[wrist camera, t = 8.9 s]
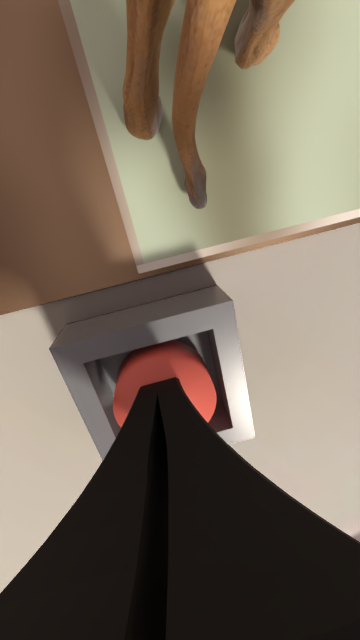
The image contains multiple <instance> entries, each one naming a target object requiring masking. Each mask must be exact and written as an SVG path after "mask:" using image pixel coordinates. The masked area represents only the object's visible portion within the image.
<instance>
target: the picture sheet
mask: <svg viewBox="0 0 360 640" xmlns="http://www.w3.org/2000/svg"><path fill="white" fill-rule="evenodd" d="M186 2H187V0H176V1H175V3H174V5H173V8H172V10H171V13H170V15H169V18H168V21H167V24H166V27H165V30H164V33H163V37H162V42H161V51H160V61H159V97H160V99H161V104H162V119H161V123H160V127H159V129H158V131H157V133H156V135H155V136H154V137H153V138H152V139H150V140H143V139H138V138H136V137H134V136H132V135H131V134H130V133H129V132H128V130H127V128H126V125H125V120H124V111H123V105H124V101H123V84H124V79H125V74H126V55H127V11H126V0H0V315H2V314H6V313H10V312H14V311H18V310H22V309H26V308H30V307H33V306H37V305H41V304H45V303H49V302H53V301H57V300H61V299H64V298H68V297H72V296H76V295H80V294H84V293H88V292H92V291H96V290H99V289H103V288H107V287H111V286H115V285H119V284H123V283H127V282H130V281H134V280H138V279H142V278H146V277H150V276H154V275H158V274H162V273H165V272H169V271H173V270H177V269H181V268H185V267H189V266H193V265H196V264H200V263H204V262H208V261H212V260H216V259H220V258H224V257H228V256H231V255H235V254H239V253H243V252H247V251H251V250H255V249H259V248H263V247H266V246H270V245H274V244H278V243H282V242H286V241H290V240H294V239H297V238H301V237H305V236H309V235H313V234H317V233H321V232H325V231H329V230H332V229H336V228H340V227H344V226H348V225H352V224H356V223H360V0H295V1H294V2H293V4H292V5H291V6H290V7H289V8H288V9H287V11H286V12H285V13H284V15H283V16H282V18H281V20H280V21H279V25H280V36H279V39H278V42H277V44H276V45H275V47H274V49H273V50H272V51H271V53H270V54H269V55H268V56H267V57H266V59H265V60H264V61H262V62H261V63H260V64H257V65H254V66H253V65H251V67H250V68H248V69H241V68H240V67H239V66H238V65H237V64H236V63H235V37H236V34H237V32H238V29H239V25H240V22H241V20H242V18H243V16H244V14H245V13H246V11H247V10H248V8H249V0H236V3H235V5H234V8H233V10H232V13H231V16H230V18H229V21H228V23H227V26H226V29H225V31H224V34H223V37H222V40H221V42H220V45H219V48H218V50H217V53H216V56H215V58H214V61H213V63H212V66H211V68H210V70H209V73H208V76H207V79H206V82H205V85H204V88H203V92H202V96H201V99H200V103H199V107H198V113H197V118H196V127H195V140H196V146H197V151H198V154H199V157H200V160H201V162H202V164H203V166H204V168H205V170H206V176H207V178H206V193H207V204H206V206H205V207H204V208H203V209H196V208H195V207H193V206H192V204H191V202H190V201H189V196H188V193H187V192H186V190H185V189H184V183H185V171H184V167H183V164H182V162H181V160H180V157H179V153H178V150H177V146H176V143H175V138H174V134H173V128H172V105H173V91H174V80H175V71H176V64H177V56H178V48H179V42H180V36H181V31H182V25H183V19H184V13H185V7H186Z"/></svg>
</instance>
